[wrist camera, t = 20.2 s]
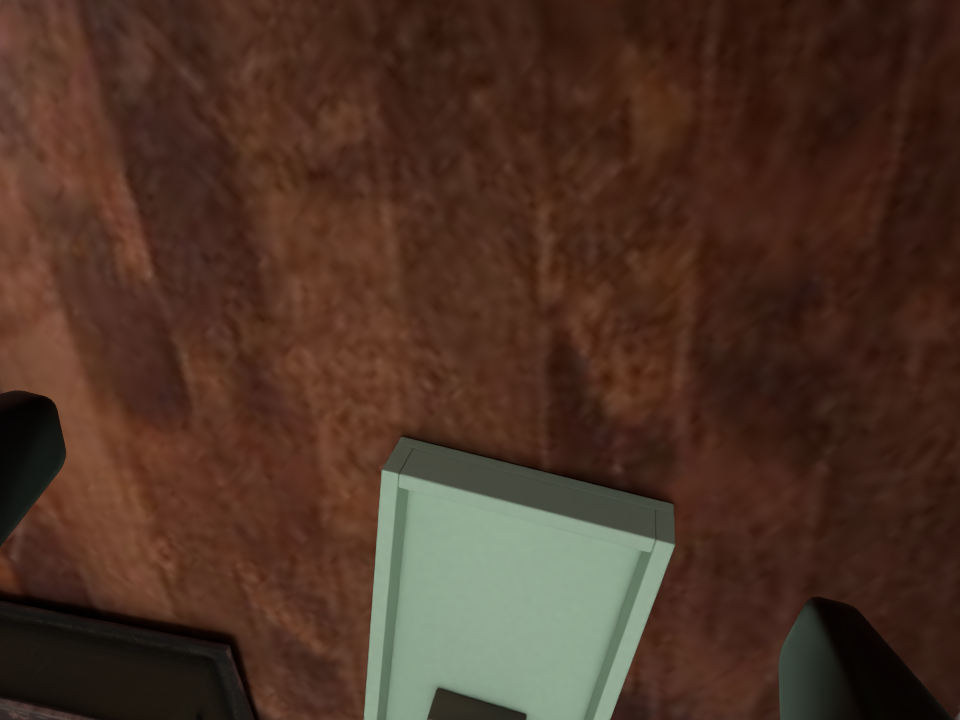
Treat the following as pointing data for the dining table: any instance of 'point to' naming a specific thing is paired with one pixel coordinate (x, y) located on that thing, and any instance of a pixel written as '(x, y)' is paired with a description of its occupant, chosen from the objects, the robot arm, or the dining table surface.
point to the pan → (507, 586)
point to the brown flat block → (467, 708)
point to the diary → (111, 671)
